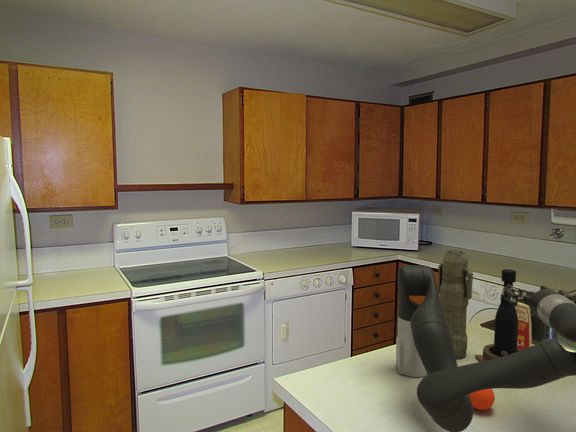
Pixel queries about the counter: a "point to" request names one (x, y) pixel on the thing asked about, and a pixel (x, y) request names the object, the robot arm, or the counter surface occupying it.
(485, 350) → the bottle stand
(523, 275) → the counter surface
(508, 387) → the robot arm
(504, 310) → the wine bottle
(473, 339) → the counter surface
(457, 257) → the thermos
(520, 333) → the milk carton
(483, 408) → the clementine
